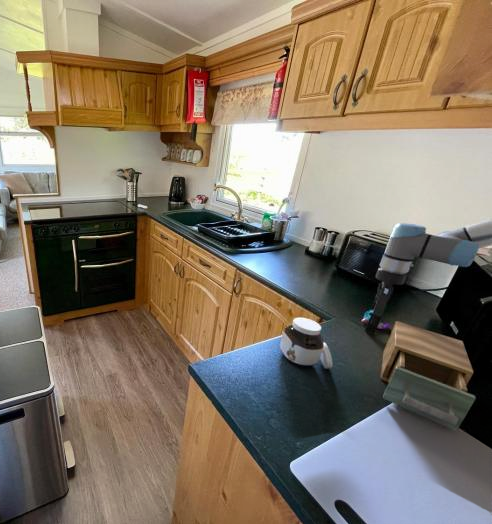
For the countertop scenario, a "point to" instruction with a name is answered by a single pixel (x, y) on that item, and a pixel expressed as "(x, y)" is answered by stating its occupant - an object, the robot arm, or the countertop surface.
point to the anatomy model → (383, 326)
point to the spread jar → (305, 344)
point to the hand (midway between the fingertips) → (371, 324)
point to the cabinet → (425, 349)
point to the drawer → (428, 389)
